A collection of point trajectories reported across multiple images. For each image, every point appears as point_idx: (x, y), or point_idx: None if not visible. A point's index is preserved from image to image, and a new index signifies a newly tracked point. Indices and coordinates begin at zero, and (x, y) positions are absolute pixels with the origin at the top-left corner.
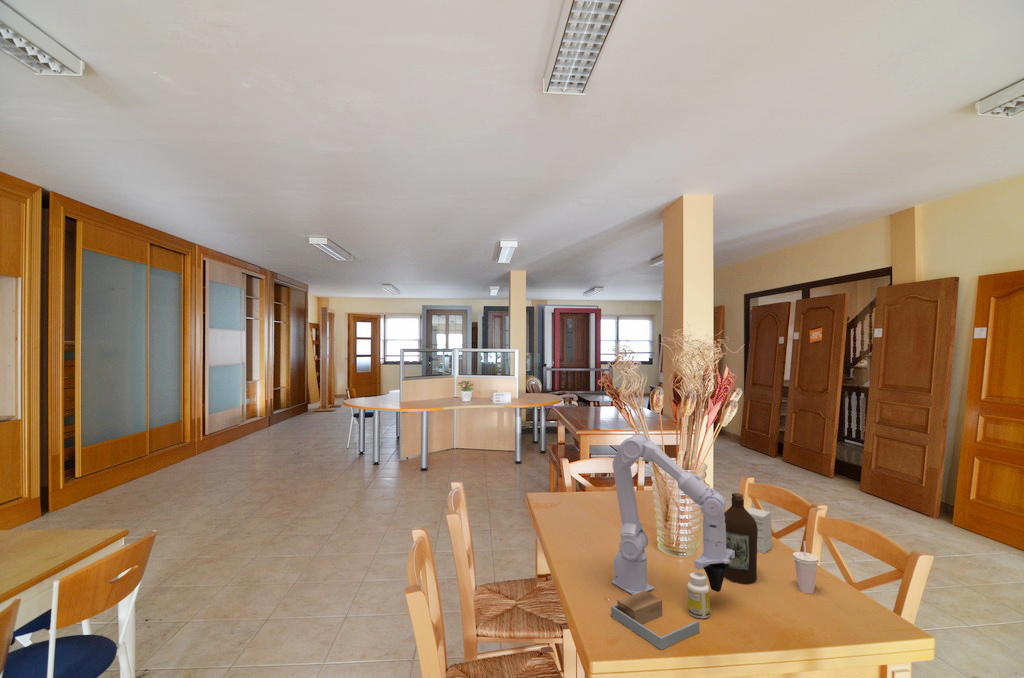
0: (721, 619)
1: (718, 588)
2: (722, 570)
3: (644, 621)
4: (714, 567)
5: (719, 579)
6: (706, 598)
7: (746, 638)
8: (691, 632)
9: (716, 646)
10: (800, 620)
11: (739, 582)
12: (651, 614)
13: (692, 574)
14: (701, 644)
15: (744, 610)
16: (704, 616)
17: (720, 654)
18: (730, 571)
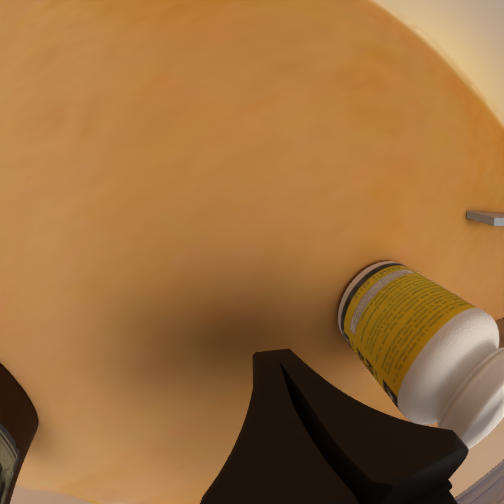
0: (342, 221)
1: (298, 359)
2: (378, 465)
3: (499, 322)
4: (430, 489)
5: (326, 403)
6: (451, 294)
7: (375, 69)
8: (496, 214)
9: (477, 129)
10: (25, 51)
11: (8, 376)
12: None
13: (491, 427)
14: (495, 166)
15: (148, 218)
16: (405, 265)
17: (487, 104)
18: (16, 424)
